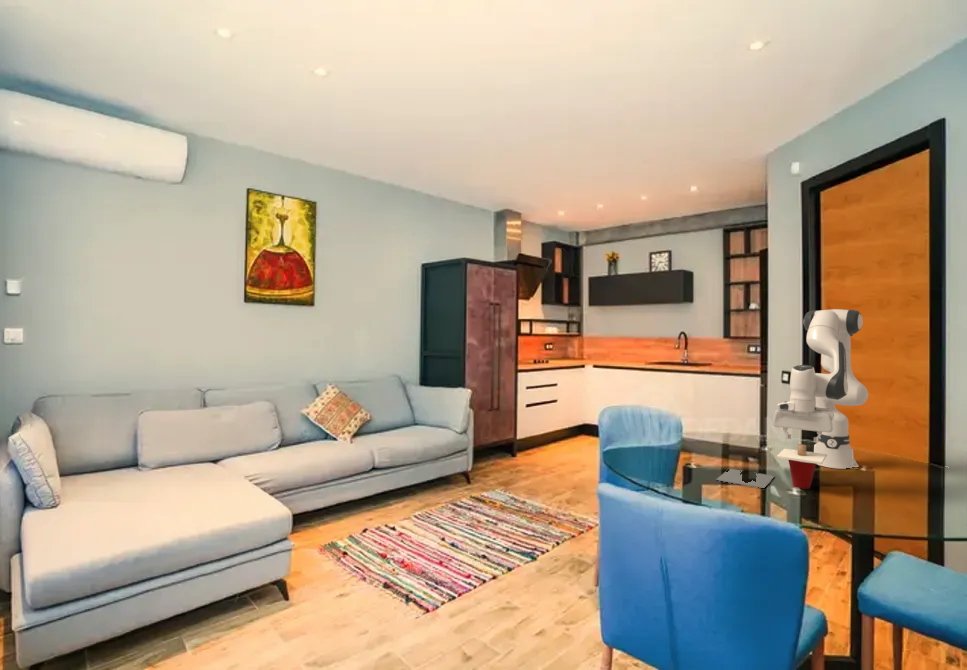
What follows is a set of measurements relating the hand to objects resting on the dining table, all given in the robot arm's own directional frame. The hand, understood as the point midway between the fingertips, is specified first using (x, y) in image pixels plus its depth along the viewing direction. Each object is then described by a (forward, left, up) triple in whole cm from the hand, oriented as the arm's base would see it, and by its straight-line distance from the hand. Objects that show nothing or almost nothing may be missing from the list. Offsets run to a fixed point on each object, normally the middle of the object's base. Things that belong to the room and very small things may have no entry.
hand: (802, 440), depth 206 cm
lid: (0, 0, -7) cm, 7 cm away
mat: (+3, -20, -19) cm, 27 cm away
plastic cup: (0, 0, -19) cm, 19 cm away
